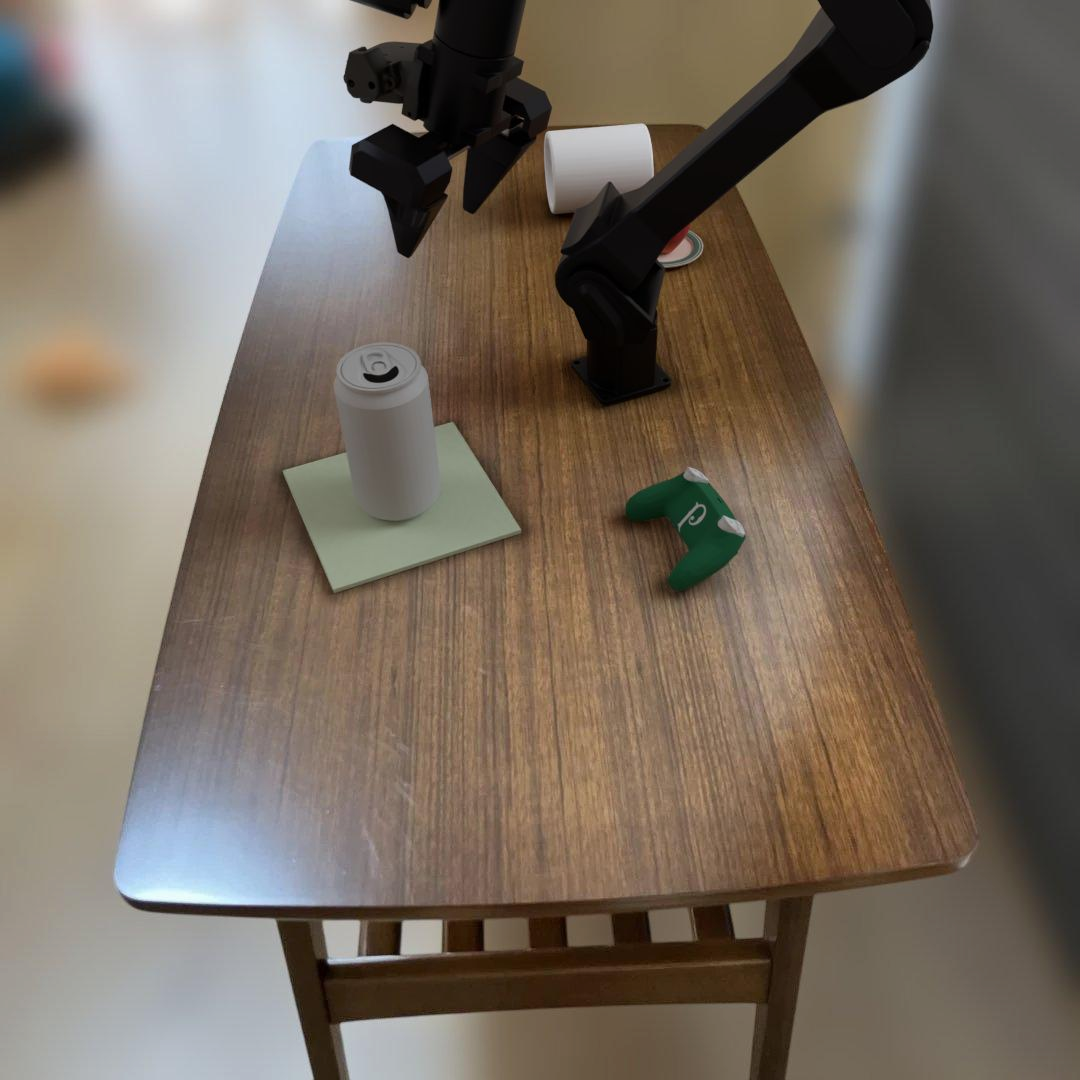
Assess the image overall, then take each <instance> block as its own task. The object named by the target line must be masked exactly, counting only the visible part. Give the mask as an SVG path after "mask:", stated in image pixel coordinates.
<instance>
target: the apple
mask: <svg viewBox="0 0 1080 1080" xmlns="http://www.w3.org/2000/svg"><path fill="white" fill-rule="evenodd" d="M690 228H691V223H690V224H689V225H688V226H686V227H685V228H684V229H683V230H682V231H680V232H679V233H678V234H677V235H676V236H674V237H673V238H672V239H671V240H670V241H669V242H668V244H667V245H666V246H665V248H664V249H663V251H662V252H661V254H660V255H659V257H658V258H657V260H658V261H659V262H660V263H661V264H662V265H663V266H664V267H665V269H667V268H669V269H670V268H676V267H681V266H685V265H688V264H691V263H692V262H694V261H696V260H697V259H699V257H700V256H701V255H702V254H703V250H704V242H703V240H702V239H701V238H700V237H699V235H697V234H696V233H695V232H693V231H691V230H690Z"/></svg>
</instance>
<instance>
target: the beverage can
mask: <svg viewBox="0 0 1080 1080" xmlns="http://www.w3.org/2000/svg"><path fill="white" fill-rule="evenodd" d="M421 363H422V362H421V358H420V356H419V354H418V353H417V352H416V351H415V350H414V349H412V348H411V347H409V346H407V345H404V344H400V343H397V342H388V341H387V342H385V341H384V342H383V341H381V342H373V343H368V344H367V343H366V344H364V345H361V346H357V347H354V348H353V349H352V350H349V351H348V352H347V353H346V354H344V355H343V356H342V357H341V359H339V361H338V363H337V365H336V369H335V371H336V377H335V379H334V382H333V391H334V397H335V402H336V406H337V407H336V408H337V413H338V418H339V422H340V428H341V433H342V438H343V443H344V448H345V452H346V454H347V459H348V464H349V469H350V474H351V479H352V485H353V490H354V495H355V500H356V502H357V504H358V506H359V507H360V508H361V509H362V510H363V511H364V512H365V513H367V514H368V515H370V516H372V517H375V518H378V519H383V520H387V521H405V520H409V519H412V518H415V517H417V516H419V515H421V514H422V513H424V512H425V511H427V510H428V509H429V508H431V507H432V506H433V505H434V504H435V502H436V501H437V500H438V498H439V496H440V492H441V480H440V472H439V464H438V455H437V447H436V439H435V431H434V427H435V423H434V415H433V408H432V407H433V406H432V400H431V391H430V383H429V375H428V372H427V370H426V368H425V367H424V366H423V364H421Z"/></svg>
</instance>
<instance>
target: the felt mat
mask: <svg viewBox="0 0 1080 1080" xmlns="http://www.w3.org/2000/svg"><path fill="white" fill-rule="evenodd" d="M434 431H435V439H436V447H437V455H438V464H439V472H440V480H441V492H440V496H439V498H438V500H437V501H436V502H435V504H434V505H433V506H432V507H431V508H429V509H428V510H427V511H425V512H424V513H422V514H421V515H419V516H417V517H415V518H412V519H409V520H405V521H387V520H383V519H378V518H375V517H372V516H370V515H368V514H367V513H365V512H364V511H363V510H362V509H361V508H360V507H359V506H358V504H357V502H356V500H355V495H354V490H353V485H352V479H351V474H350V469H349V464H348V459H347V454H346V451H345V452H342V453H340V454H336V455H332V456H328V457H324V458H321V459H318V460H315V461H314V460H313V461H311V462H307V463H304V464H301V465H297V466H293V467H290V468H287V469H283V470H282V475H283V476H284V479H285V481H286V484H287V486H288V488H289V490H290V493H291V495H292V498H293V500H294V502H295V506H296V507H297V510H298V512H299V515H300V516H301V519H302V521H303V524H304V526H305V529H306V531H307V533H308V536H309V538H310V541H311V543H312V545H313V548H314V550H315V552H316V554H317V556H318V559H319V562H320V564H321V566H322V568H323V571H324V575H326V579H327V580H328V583H329V585H330V588H331V590H332V592H333V594H338V593H339V592H343V591H347V590H349V589H353V588H355V587H358V586H359V587H360V586H362V585H365V584H368V583H372V582H374V581H377V580H380V579H383V578H386V577H389V576H393V575H396V574H400V573H402V572H405V571H409V570H411V569H414V568H417V567H420V566H424V565H426V564H431V563H433V562H436V561H439V560H442V559H443V560H444V559H446V558H449V557H452V556H455V555H458V554H461V553H464V552H467V551H471V550H473V549H474V550H475V549H476V548H477V549H478V548H480V547H482V546H486V545H488V544H492V543H496V542H498V541H501V540H504V539H509V538H511V537H514V536H517V535H521V534H522V528H521V527H520V525H519V524H518V522H517V521H516V519H515V517H514V515H513V514H512V513H511V511H510V510H509V508H508V506H507V505H506V503H505V502H504V500H503V498H502V497H501V495H500V494H499V492H498V491H497V489H496V488H495V486H494V485H493V484H494V483H493V482H492V481H491V480H490V478H489V476H488V475H487V473H486V472H485V469H484V468H483V467H482V465H481V463H480V462H479V460H478V458H477V457H476V456H475V454H474V452H473V451H472V449H471V448H470V446H469V444H468V443H467V441H466V440H465V438H464V436H463V435H462V434H461V432H460V430H459V429H458V427H457V426H456V424H455V422H454V421H451V422H447V423H443V424H439V425H435V426H434Z"/></svg>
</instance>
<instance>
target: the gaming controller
mask: <svg viewBox="0 0 1080 1080" xmlns="http://www.w3.org/2000/svg"><path fill="white" fill-rule="evenodd" d="M624 508H625V517H626V518H627V519H628V521H631V522H635V523H638V522H639V523H642V522H648V521H654V520H659V519H662V518H667V519H668V521H669V522H670V523H671V525H672V526H673V528H674V529H675V531H676V533H677V535H678V536H679V537H680V539H681V540H682V542H683V543H684V545H685V546H686V548H687V549H688V552H686V554H684V556H682V557H681V559H680V560H679V561H678V562H677V563H676V564H675V566H674V567H673V569H671V572H670V574H669V575H668V577H667V580H666V583H667V584H668V585H669V587H671V588H672V589H673V590H674V591H675V592H676V593H679V592H682V591H685V590H687V589H689V588H691V587H693V586H696V585H697V584H699V583H701V582H704V581H705V580H707V579H708V578H710V577H712V576H713V575H715V574H716V573H717V572H719V571H721V570H722V569H723V568H725V567H726V566H727V565H728V564H729V563H730V562H731V561H732V560H733V559H734V558H735V557H736V556H737V555H738V554H739V551H740V549H741V547H742V545H743V544H744V542H745V540H746V538H747V536H746V532H745V529H744V527H743V525H742V524H741V523H740V522H739V521H738V520H737V519H736V517H735V514H734V513H733V512H732V510H731V508H730V507H729V506H728V504H727V502H726V501H725V500H724V499H723V498H722V496H721V494H720V493H718V491H717V490H716V489H715V488H714V487H713V485H712V484H711V483H710V480H709V479H708V478H707V476H705V474H704V473H703V472H701V471H699V470H697V469H696V468H693V467H690V466H687V467H686V470H684V471H683V472H682V473H680V474H678V475H676V476H674V477H672V478H669V479H668V478H667V479H666V480H663V481H660V482H657V483H654V484H651V485H649V486H647V487H645V488H642V489H640V490H638V491H636V492H635V494H633V495H631V497H629V498H628V500H627V501H626V503H625V507H624Z"/></svg>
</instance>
